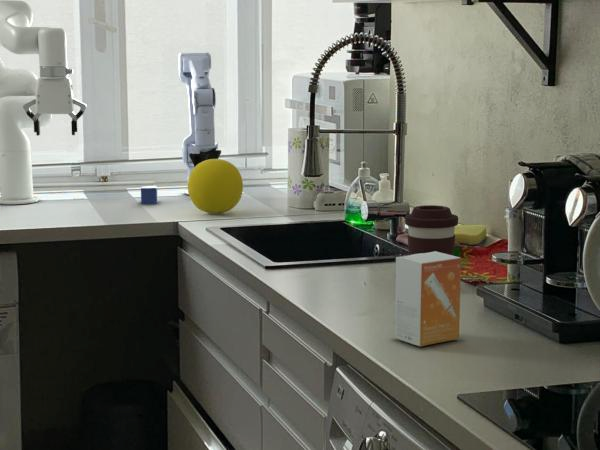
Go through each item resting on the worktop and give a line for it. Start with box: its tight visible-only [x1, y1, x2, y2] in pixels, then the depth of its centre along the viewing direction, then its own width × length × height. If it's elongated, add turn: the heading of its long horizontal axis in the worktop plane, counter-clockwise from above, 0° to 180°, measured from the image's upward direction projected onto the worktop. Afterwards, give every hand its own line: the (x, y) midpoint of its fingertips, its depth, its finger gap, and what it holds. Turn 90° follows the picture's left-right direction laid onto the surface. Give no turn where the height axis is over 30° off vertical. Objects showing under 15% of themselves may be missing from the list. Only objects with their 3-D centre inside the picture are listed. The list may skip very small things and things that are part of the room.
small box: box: [394, 251, 462, 347], centre depth 161 cm, size 8×6×13 cm
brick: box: [140, 185, 158, 205], centre depth 310 cm, size 5×5×5 cm
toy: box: [187, 158, 244, 215], centre depth 287 cm, size 15×15×15 cm
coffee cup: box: [404, 204, 459, 256], centre depth 197 cm, size 10×10×15 cm
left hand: (55, 134), depth 292 cm, fingers open, 9 cm apart
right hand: (205, 175), depth 309 cm, fingers open, 7 cm apart
